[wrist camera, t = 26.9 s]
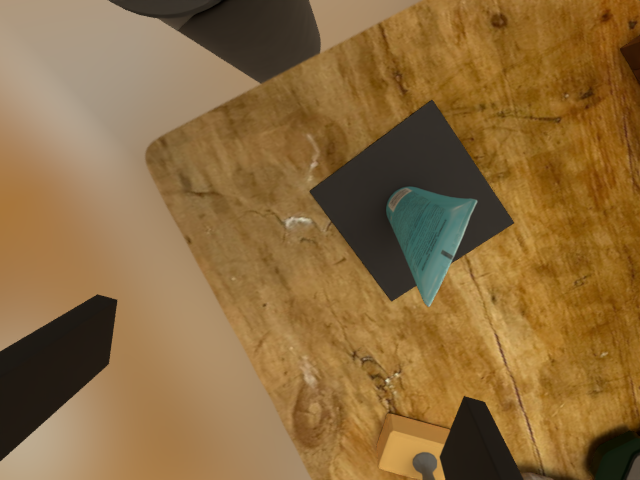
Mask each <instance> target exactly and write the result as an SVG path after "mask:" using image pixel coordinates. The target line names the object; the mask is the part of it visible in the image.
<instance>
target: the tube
mask: <svg viewBox="0 0 640 480" xmlns="http://www.w3.org/2000/svg"><path fill="white" fill-rule="evenodd" d="M476 203H477V200H475V199H462V198H454V197H448V196H443V195H439V194H436V193H432V192H429V191H426V190H422V189H419V188H416V187H403V188H401V189H399V190H397V191H395V192H394V193H393V194H392V195H391V197H390V198H389V200H388V202H387V207H386V212H387V217H388V219H389V222H390V224H391V226H392V228H393V230H394V233H395V235H396V237H397V239H398V242H399V244H400V246H401V249H402V251H403V253H404V256H405V258H406V260H407V263H408V265H409V267H410V270H411V272H412V275H413V277H414V280H415V282H416V285H417V287H418V289H419V292H420V294H421V296H422V299H423V301H424V303H425V304H426V305H427V306H428V307H429V306H430V305H431V304H432V301H433V299H434V297H435V296H436V294H437V292H438V290H439V288H440V285H441V283H442V281H443V279H444V277H445V275H446V273H447V271H448V268H449V266H450V264H451V262H452V260H453V258H454V256H455V253H456V251H457V249H458V246H459V245H460V242H461V240H462V237H463V235H464V232H465V230H466V227H467V225H468V222H469V219H470V216H471V214H472V212H473V210H474V207H475V205H476Z"/></svg>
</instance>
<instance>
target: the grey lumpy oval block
mask: <svg viewBox="0 0 640 480" xmlns="http://www.w3.org/2000/svg"><path fill="white" fill-rule="evenodd" d="M521 475H522V477H523V479H524V480H554V479H552V478H550V477H547V476H542V475H539V474H534V473H532V472H522V473H521Z"/></svg>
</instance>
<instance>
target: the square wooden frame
mask: <svg viewBox="0 0 640 480" xmlns="http://www.w3.org/2000/svg"><path fill="white" fill-rule="evenodd" d="M620 50H621V51H622V53H623V55H624V57H625V58H626V60H627V62H628V64H629V65H630V67H631V69H632V70H633V72H634V74H635V76H636V78H637V79H638V81H639V83H640V35H639V36H638V37H636V38H635V39H633V40H632V41H631V42H629V43H628V44H626V45H625V46H623V47H622V48H621V49H620Z"/></svg>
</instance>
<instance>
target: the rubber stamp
mask: <svg viewBox="0 0 640 480" xmlns="http://www.w3.org/2000/svg"><path fill="white" fill-rule="evenodd" d="M449 432H450V429H446V428H442V427H438V426H435V425H431V424H427V423H424V422H420V421H416V420H413V419H409V418H405V417H402V416H398V415H394V414H389V413H388V414H387V417H386V420H385V423H384V425H383V428H382V431H381V434H380V437H379V440H378V443H377V459H378V467H379V468H380V469H381V470H385V471H388V472H392V473H396V474H399V475H403V476H407V477H410V478H414V479H417V480H445V476H444V473H443V469H442V465H441V461H440V458H439V457H440V454H441V452H442V449H443V447H444V444H445V442H446V439H447V437H448V435H449Z"/></svg>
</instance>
